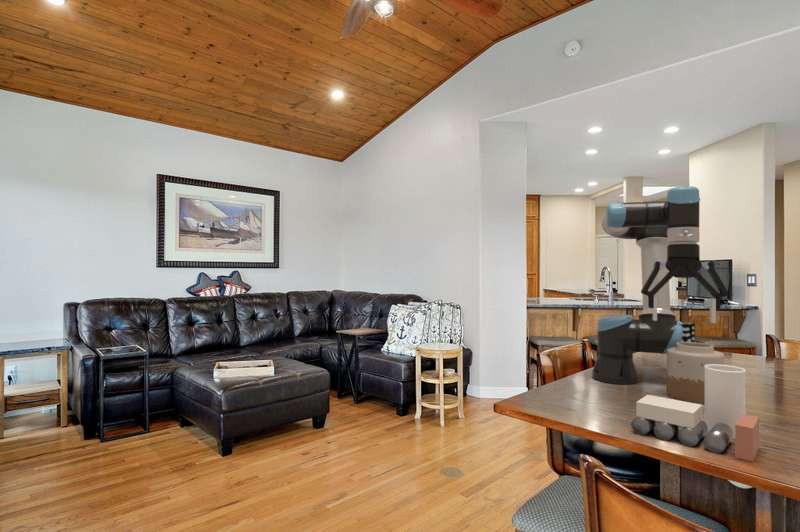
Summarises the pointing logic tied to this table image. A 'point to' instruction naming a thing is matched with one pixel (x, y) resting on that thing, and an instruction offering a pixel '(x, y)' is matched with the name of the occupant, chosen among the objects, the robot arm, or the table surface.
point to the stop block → (747, 437)
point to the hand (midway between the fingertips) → (683, 321)
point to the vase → (689, 370)
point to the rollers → (687, 433)
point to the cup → (724, 395)
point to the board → (669, 411)
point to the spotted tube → (688, 332)
